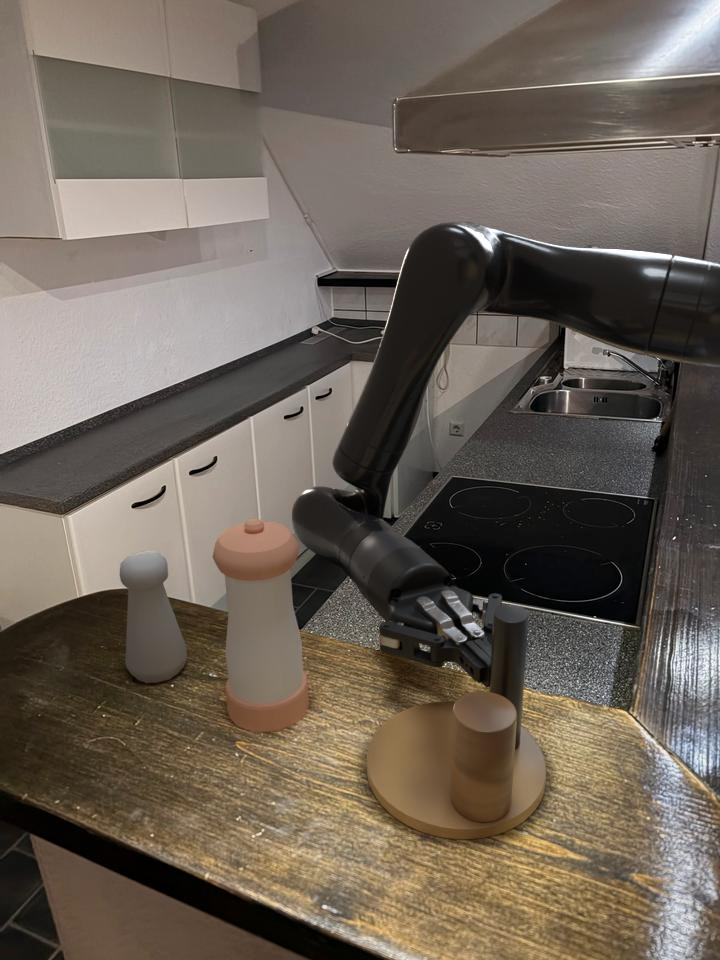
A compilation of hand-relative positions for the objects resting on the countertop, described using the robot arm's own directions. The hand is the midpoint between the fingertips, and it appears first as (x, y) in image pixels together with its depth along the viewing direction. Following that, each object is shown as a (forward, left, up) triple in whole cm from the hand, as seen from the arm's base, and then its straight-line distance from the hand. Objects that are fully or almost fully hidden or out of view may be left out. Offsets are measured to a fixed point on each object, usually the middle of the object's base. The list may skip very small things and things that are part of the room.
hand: (496, 675), depth 61 cm
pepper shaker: (+15, -12, -8) cm, 21 cm away
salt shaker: (+23, -23, -8) cm, 33 cm away
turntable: (+4, +1, -6) cm, 8 cm away
